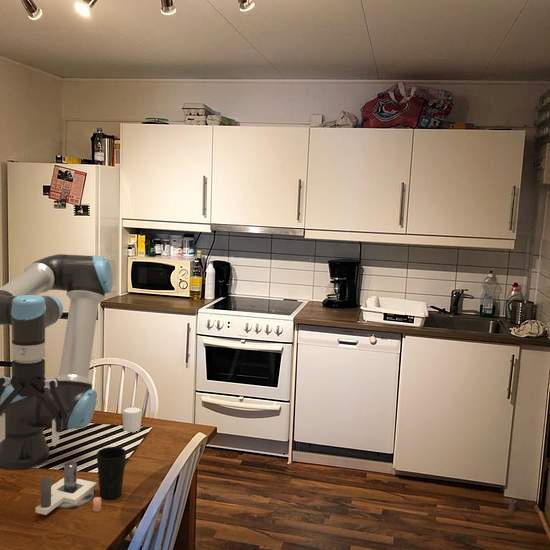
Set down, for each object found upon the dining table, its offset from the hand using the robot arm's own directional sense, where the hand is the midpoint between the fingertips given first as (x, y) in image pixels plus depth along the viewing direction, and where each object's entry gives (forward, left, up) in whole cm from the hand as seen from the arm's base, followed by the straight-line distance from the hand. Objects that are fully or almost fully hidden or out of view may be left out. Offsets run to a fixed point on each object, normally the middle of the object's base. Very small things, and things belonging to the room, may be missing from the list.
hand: (28, 442), depth 149 cm
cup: (+14, +16, -19) cm, 28 cm away
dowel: (+15, +8, -19) cm, 25 cm away
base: (+4, +11, -19) cm, 22 cm away
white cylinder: (-4, +58, -19) cm, 61 cm away
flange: (+4, +8, -18) cm, 20 cm away
